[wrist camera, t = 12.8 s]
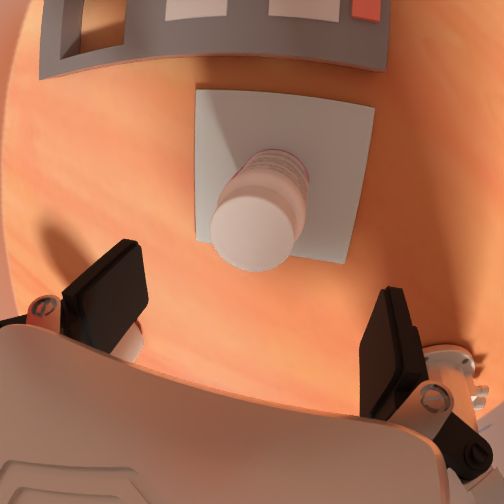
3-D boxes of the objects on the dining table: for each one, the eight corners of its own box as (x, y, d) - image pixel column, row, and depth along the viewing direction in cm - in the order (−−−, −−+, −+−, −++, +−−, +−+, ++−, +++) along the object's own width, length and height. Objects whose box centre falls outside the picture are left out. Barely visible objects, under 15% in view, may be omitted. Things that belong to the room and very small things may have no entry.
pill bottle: (242, 145, 20) (198, 182, 13) (312, 150, 19) (308, 191, 12) (241, 208, 23) (204, 272, 16) (306, 214, 22) (298, 285, 15)
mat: (373, 107, 17) (375, 108, 17) (344, 260, 24) (344, 264, 23) (198, 89, 19) (195, 89, 19) (198, 238, 25) (196, 241, 25)
